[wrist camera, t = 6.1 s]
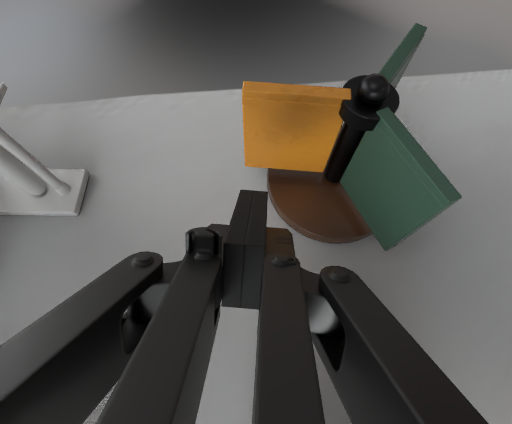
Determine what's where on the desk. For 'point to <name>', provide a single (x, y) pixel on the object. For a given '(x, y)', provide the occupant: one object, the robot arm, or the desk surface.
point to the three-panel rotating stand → (351, 144)
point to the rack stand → (315, 205)
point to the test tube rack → (36, 182)
